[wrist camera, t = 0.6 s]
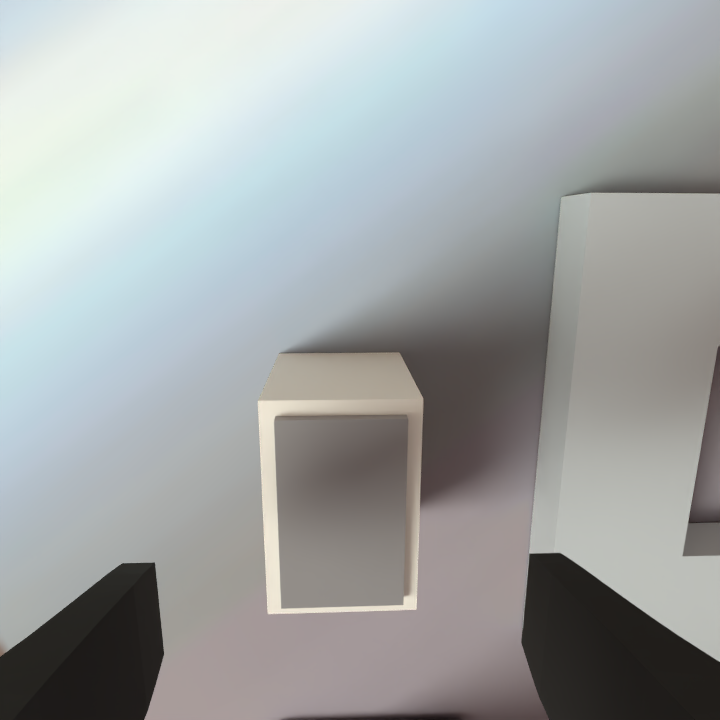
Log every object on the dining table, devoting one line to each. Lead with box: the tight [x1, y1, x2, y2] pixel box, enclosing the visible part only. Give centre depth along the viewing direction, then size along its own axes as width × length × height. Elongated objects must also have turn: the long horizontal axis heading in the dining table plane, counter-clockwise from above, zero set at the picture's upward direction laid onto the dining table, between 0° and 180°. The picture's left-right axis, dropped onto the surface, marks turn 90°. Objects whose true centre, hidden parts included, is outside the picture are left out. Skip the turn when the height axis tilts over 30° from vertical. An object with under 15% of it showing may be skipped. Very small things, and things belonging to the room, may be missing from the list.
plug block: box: [258, 352, 423, 614], centre depth 16 cm, size 6×4×5 cm, turn 0°
